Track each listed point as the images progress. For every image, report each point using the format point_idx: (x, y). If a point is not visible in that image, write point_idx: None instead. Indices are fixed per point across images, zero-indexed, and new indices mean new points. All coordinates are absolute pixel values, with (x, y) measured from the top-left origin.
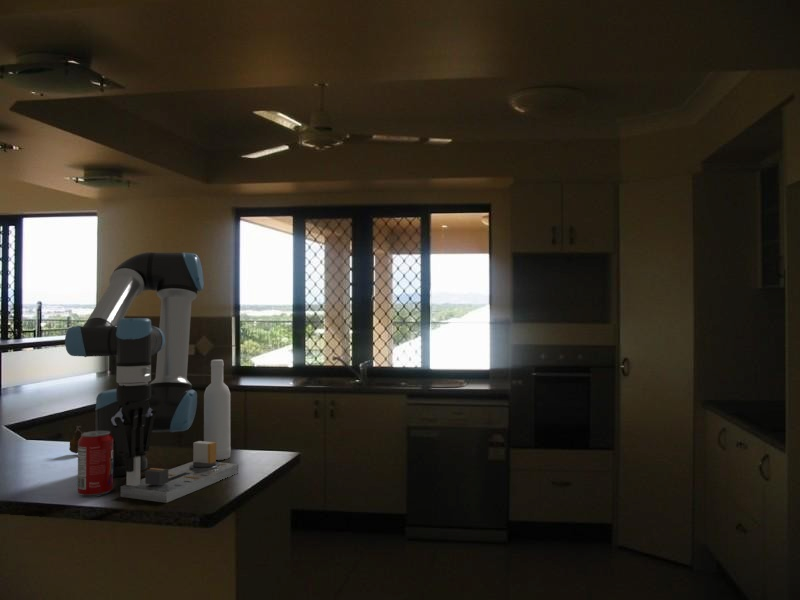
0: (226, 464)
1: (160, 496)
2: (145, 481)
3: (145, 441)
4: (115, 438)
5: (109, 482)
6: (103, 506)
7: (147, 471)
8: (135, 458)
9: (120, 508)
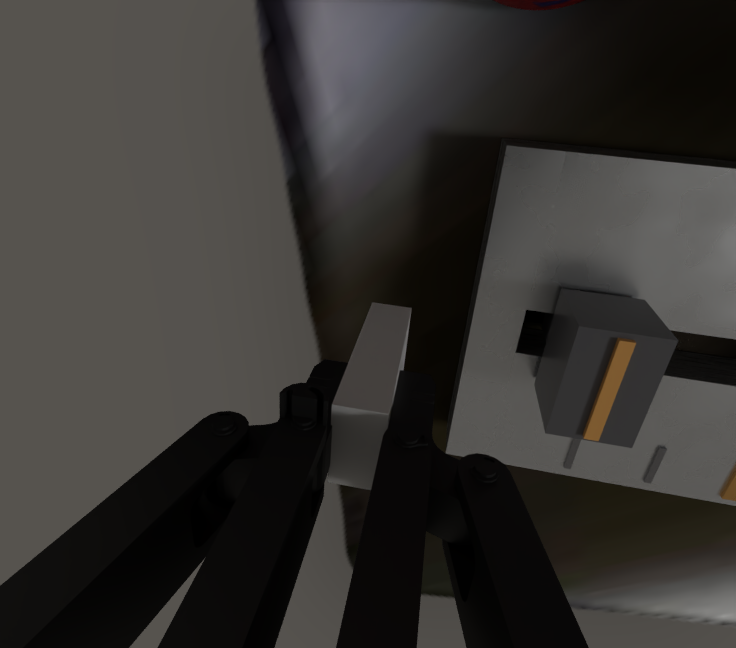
0: None
1: (452, 407)
2: (563, 295)
3: (459, 599)
4: (54, 558)
5: (555, 3)
6: (325, 170)
7: (571, 343)
8: (329, 476)
9: (326, 276)
